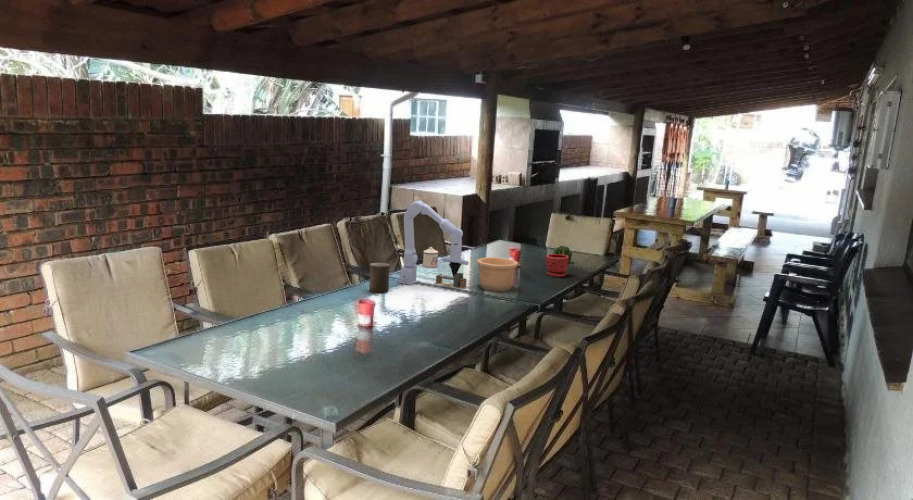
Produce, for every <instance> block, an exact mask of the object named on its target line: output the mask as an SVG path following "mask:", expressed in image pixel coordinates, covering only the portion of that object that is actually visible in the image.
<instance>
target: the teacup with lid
mask: <svg viewBox="0 0 913 500" xmlns="http://www.w3.org/2000/svg"><path fill="white" fill-rule="evenodd" d="M438 256H439V251H438V250H436V249H434V248H433V247H432V246H429V247H428V248H427V249H425V250H423V259H422V260H423V261H422V265H423V267H424V268H431V269H432V268H437V267H438V263H439V261H438V259H439V257H438Z"/></svg>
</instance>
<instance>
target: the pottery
mask: <svg viewBox="0 0 913 500" xmlns="http://www.w3.org/2000/svg"><path fill="white" fill-rule="evenodd" d="M476 265H478V272H479V273H478V274H479V283H480V288H481V289H484V290H487V291H491V292H492V291H493V292H506V291H510V290H512V285H513V281H514V275H515V270H516V268H518V266H519V262H518V261H517V260H514V259H511V258H505V257H497V256H496V257H495V256H494V257H489V256H488V257H481V258H477V260H476Z"/></svg>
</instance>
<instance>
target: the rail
mask: <svg viewBox="0 0 913 500" xmlns="http://www.w3.org/2000/svg"><path fill="white" fill-rule="evenodd" d="M443 279H444V280H449V281H454V277H453V276H448V275H447V276H446V275H443V274H441V273H440V274H439V273H438V274H437V275H435V282H434V283H433V284H434V285H437V284H438V285H439V286H442V285H443V286H444V287H448V288H449V287H450V288H454V289H459V288H460V289H461V290H464V289H466V288H468V285H467V278H465V277H463V279H460V278H459V282H460V286H458V287H455V286H453V283H452V282H447V281H443ZM438 285H437V286H438Z"/></svg>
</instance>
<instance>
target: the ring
mask: <svg viewBox="0 0 913 500" xmlns="http://www.w3.org/2000/svg"><path fill="white" fill-rule="evenodd" d="M459 278H460V279H463V278H464V273H463V272H458V273H457V274H455V275H454V280H453V283H452V284H453V286H455V287H458V286H460V282H459Z"/></svg>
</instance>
